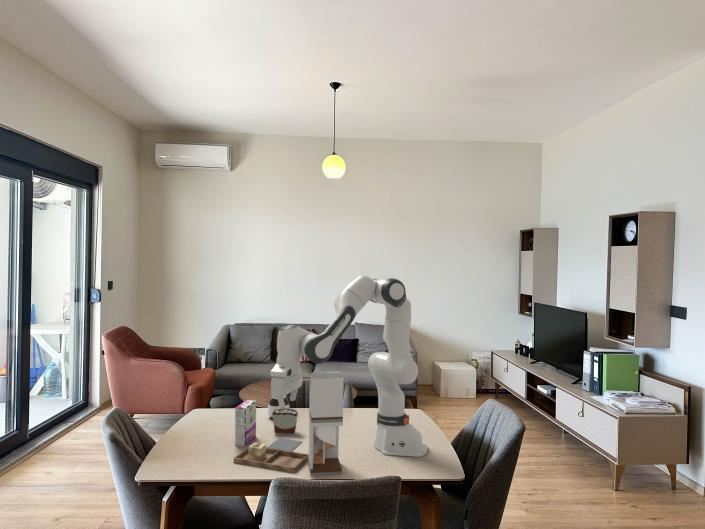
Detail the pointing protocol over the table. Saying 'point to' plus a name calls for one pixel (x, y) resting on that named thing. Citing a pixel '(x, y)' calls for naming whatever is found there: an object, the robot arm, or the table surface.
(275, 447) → the gray mat
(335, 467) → the display case
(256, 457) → the maple block
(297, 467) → the walnut organizer
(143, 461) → the table surface
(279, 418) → the food container
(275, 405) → the spread jar
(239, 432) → the candy bar box
